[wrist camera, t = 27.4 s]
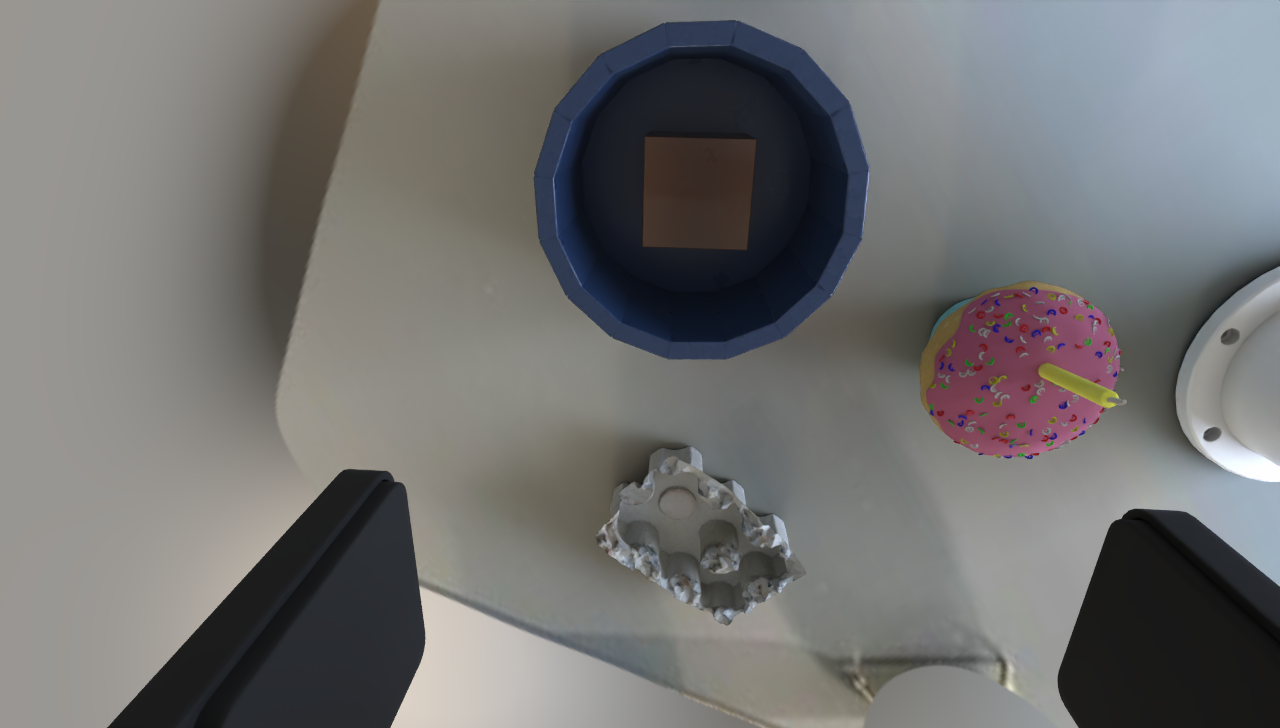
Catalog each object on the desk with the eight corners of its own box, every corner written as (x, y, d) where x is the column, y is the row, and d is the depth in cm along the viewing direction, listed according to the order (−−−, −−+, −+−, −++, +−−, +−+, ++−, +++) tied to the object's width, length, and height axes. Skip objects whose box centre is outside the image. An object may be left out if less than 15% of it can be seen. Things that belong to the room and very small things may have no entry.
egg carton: (594, 497, 40) (584, 539, 36) (683, 421, 37) (683, 458, 34) (713, 601, 42) (716, 651, 38) (805, 536, 40) (817, 582, 36)
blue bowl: (872, 103, 31) (932, 105, 23) (756, 338, 35) (776, 402, 28) (620, -6, 30) (600, -40, 22) (536, 251, 34) (496, 294, 27)
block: (746, 133, 31) (757, 139, 27) (739, 230, 33) (747, 250, 28) (649, 130, 31) (644, 135, 27) (647, 228, 33) (642, 247, 29)
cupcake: (892, 273, 33) (997, 360, 22) (1068, 248, 33) (1269, 326, 21) (896, 421, 37) (989, 562, 26) (1057, 403, 36) (1227, 541, 25)
